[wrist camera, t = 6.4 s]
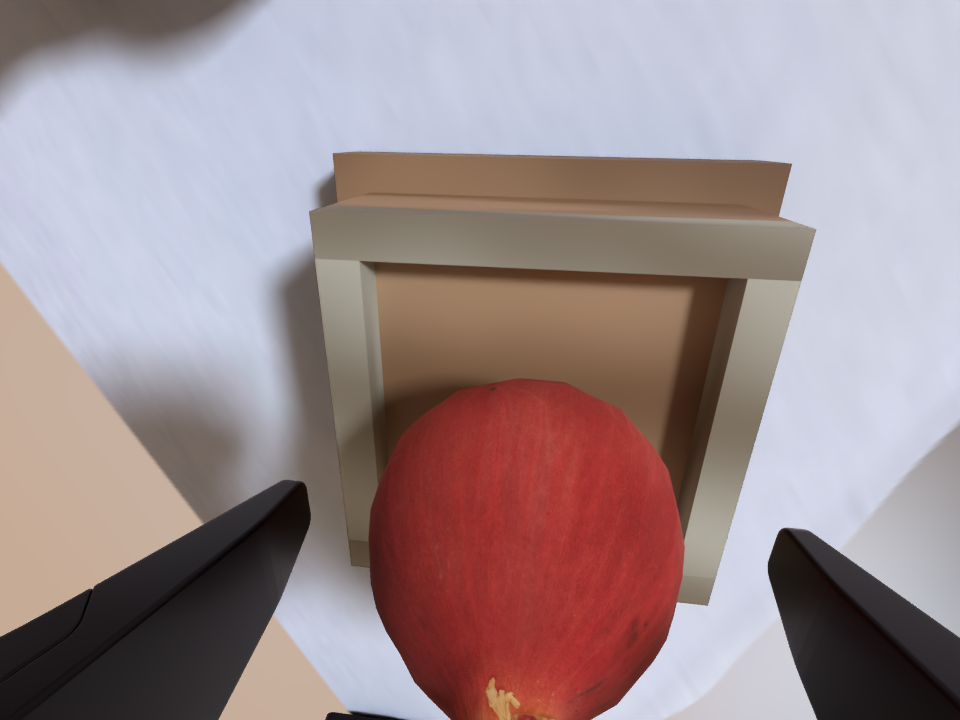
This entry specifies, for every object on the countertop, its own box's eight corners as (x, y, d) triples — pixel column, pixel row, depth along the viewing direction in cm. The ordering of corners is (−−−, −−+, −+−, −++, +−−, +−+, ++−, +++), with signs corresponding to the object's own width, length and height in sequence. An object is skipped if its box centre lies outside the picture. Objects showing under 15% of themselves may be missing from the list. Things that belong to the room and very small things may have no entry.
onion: (624, 522, 14) (698, 944, 7) (423, 497, 15) (297, 863, 7) (666, 331, 11) (855, 686, 4) (420, 310, 12) (223, 591, 5)
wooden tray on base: (683, 494, 19) (737, 635, 14) (382, 467, 20) (322, 586, 15) (760, 160, 14) (892, 173, 9) (357, 151, 16) (255, 158, 10)
